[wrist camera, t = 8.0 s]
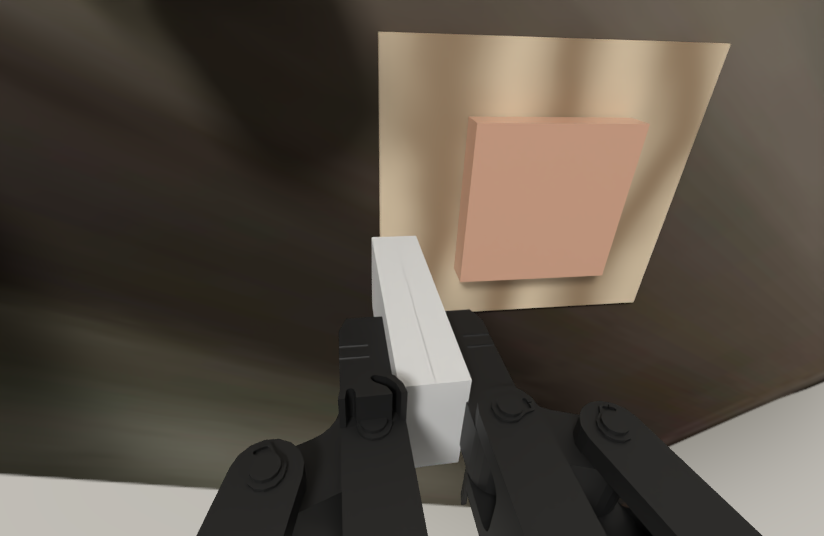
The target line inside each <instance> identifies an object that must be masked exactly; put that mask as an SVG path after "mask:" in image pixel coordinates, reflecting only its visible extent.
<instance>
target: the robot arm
mask: <svg viewBox="0 0 824 536" xmlns="http://www.w3.org/2000/svg"><path fill="white" fill-rule="evenodd" d="M372 306H373V313H374V317H366V318H351V319H346V320H345V322H344V323H343V325H342V327H341V329H340V330H339V360H340V361H339V363H340V393H339V397H338V406H339V414H338V417H337V419H336V421H335V422H334V423H333V424H332V426H331V427H330V428H329V429H328V430H326V431H325V432H324V433H323V434H321V435H319V436H318V437H316V438H314V439H312V440H309V441H307V442H304V443H302V444H300V445H297V446H295V445H294V444H292V443H291V442H288V441H284V440H281V439H272V440H264V441H261V442H259V443H256V444H254V445H251V446H250V447H249V448H247V449H246V450H245V451H243V452H242V453H241V454H240V455H238V457H237V458H236V460H235V461H234V462H233V464H232V465H231V467H230V468H229V470H228V472H227V474H226V476H225V478H224V480H223V482H222V484H221V487H220V489H219V491H218V493H217V495H216V497H215V499H214V501H213V503H212V505H211V507H210V509H209V511H208V513H207V515H206V517H205V519H204V522H203V524H202V526H201V528H200V530H199V532H198V534H197V536H428V534H427V529H426V523H425V518H424V513H423V507H422V502H421V497H420V491H419V486H418V481H417V476H416V470H415V468H417V467H424V466H432V465H440V464H447V463H455V462H458V460H459V454H460V448H461V451H462V455H463V458H464V461H465V465H466V469H465V474H464V480H463V485H462V490H461V505H465V504H466V502H467V497H468V498H469V502H470V505H471V509H472V512H473V516H474V520H475V523H476V527H477V530H478V533H479V536H762V535H761V534H760V533H759V532H758V531H757V530H755V528H754V527H753V526H752V525H750V524H749V523H748V522H747V521H746V520H745V519H744V518H743V517H742V516H741V515H740V514H739V513H738V512H737V511H736V510H735V509H734V508H733V507H731V506H730V505H729V504H728V503H727V502H726V501H725V500H724V499H723V498H722V497H721V496H720V495H719V494H718V493H716V491H714V490H713V489H712V488H711V487H710V486H709V485H708V484H707V483H706V482H705V481H704V480H703V479H702V478H701V477H700V476H699V475H698V474H696V473H695V472H694V471H693V470H692V469H691V468H690V467H689V466H688V465H687V464H686V463H685V462H684V461H683V460H682V459H681V458H679V457H678V456H677V455H676V454H675V453H674V452H673V451H672V450H671V449H670V448H669V447H668V446H667V445H666V444H665V443H664V442H663V441H661V440H660V439H659V438H658V437H657V436H656V435H655V434H654V433H653V432H652V431H651V430H650V429H649V428H648V427H647V426H646V425H644V424H643V423H642V422H641V421H640V420H639V419H638V418H637V417H636V416H634V415H633V414H632V413H630V412H629V411H628V410H626V409H625V408H623V407H620V406H618V405H616V404H613V403H609V402H603V401H597V402H590V403H588V404H587V405H585V406H584V407H583V408H582V410H581V412H580V415H576V414H571V413H565V412H559V411H553V410H549V409H545V408H542V407H540V406H538V405H537V404H536V402H535V401H534V400H533V399H532V397H531V396H529V395H528V394H526V393H525V392H523V391H522V390H520V389H517V388H516V386H515V385H514V383H513V381H512V379H511V377H510V375H509V373H508V371H507V369H506V367H505V365H504V363H503V361H502V359H501V357H500V355H499V353H498V351H497V349H496V347H495V346H494V343H493V341H492V338H491V336H490V335H489V332H488V330H487V328H486V326H485V324H484V322H483V320H482V319H481V318H479V317H478V316H477V315H476V314H475V313H474V312H472V311H471V310H470V309H467V310H452V311H445V310H444V307H443V304H442V302H441V299H440V297H439V294H438V291H437V289H436V286H435V284H434V281H433V278H432V276H431V273H430V271H429V268H428V266H427V263H426V260H425V258H424V255H423V253H422V250H421V247H420V245H419V242H418V240H417V237H416V236H394V237H372Z"/></svg>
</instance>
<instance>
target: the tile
mask: <svg viewBox="0 0 824 536" xmlns="http://www.w3.org/2000/svg"><path fill="white" fill-rule="evenodd" d="M649 126H650V124H649V123H646V122H643V121H640V120H637V119H634V118H619V117H471V116H469V118H468V129H467V139H466V149H465V159H464V170H463V180H462V190H461V200H460V211H459V221H458V231H457V241H456V252H455V262H454V270H455V272H456V274H457V277H458V279H459V281H460V282H475V281H496V280H517V279H538V278H559V277H579V276H600V275H602V274H603V271H604V268H605V265H606V262H607V258H608V255H609V252H610V249H611V246H612V243H613V239H614V236H615V233H616V230H617V227H618V224H619V221H620V217H621V214H622V211H623V208H624V205H625V202H626V198H627V195H628V192H629V189H630V186H631V183H632V179H633V176H634V173H635V170H636V167H637V164H638V161H639V157H640V154H641V151H642V148H643V145H644V142H645V138H646V135H647V132H648V129H649Z"/></svg>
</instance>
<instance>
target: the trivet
mask: <svg viewBox="0 0 824 536" xmlns="http://www.w3.org/2000/svg"><path fill="white" fill-rule="evenodd" d="M730 45H731V44H726V43H699V42H670V41H640V40H610V39H581V38H551V37H522V36H492V35H463V34H433V33H404V32H378V100H379V202H380V237H394V236H416V237H417V240H418V242H419V245H420V247H421V250H422V253H423V255H424V258H425V260H426V263H427V266H428V268H429V271H430V273H431V276H432V278H433V281H434V284H435V286H436V289H437V291H438V294H439V297H440V299H441V302H442V304H443V307H444V310H445V311H452V310H467V309H470V310H471V311H472V312H473V311H490V310H507V309H524V308H542V307H559V306H576V305H593V304H611V303H628V302H634V299H635V296H636V294H637V291H638V288H639V286H640V283H641V280H642V278H643V275H644V273H645V270H646V267H647V265H648V262H649V259H650V257H651V254H652V251H653V249H654V246H655V243H656V241H657V238H658V235H659V233H660V230H661V227H662V225H663V222H664V220H665V217H666V214H667V212H668V209H669V206H670V204H671V201H672V198H673V196H674V193H675V190H676V188H677V185H678V182H679V180H680V177H681V174H682V172H683V169H684V167H685V164H686V161H687V159H688V156H689V153H690V151H691V148H692V145H693V143H694V140H695V137H696V135H697V132H698V129H699V127H700V124H701V121H702V119H703V116H704V114H705V111H706V108H707V106H708V103H709V100H710V98H711V95H712V92H713V90H714V87H715V84H716V82H717V79H718V76H719V74H720V71H721V68H722V66H723V63H724V61H725V58H726V55H727V53H728V50H729V47H730ZM469 116H471V117H619V118H634V119H637V120H640V121H643V122H646V123H649V124H650V126H649V129H648V132H647V135H646V138H645V142H644V145H643V148H642V151H641V154H640V157H639V161H638V164H637V167H636V170H635V173H634V176H633V179H632V183H631V186H630V189H629V192H628V195H627V198H626V202H625V205H624V208H623V211H622V214H621V217H620V221H619V224H618V227H617V230H616V233H615V236H614V239H613V243H612V246H611V249H610V252H609V255H608V258H607V262H606V265H605V268H604V271H603V274H602V275H600V276H579V277H559V278H538V279H517V280H496V281H475V282H460V281H459V279H458V277H457V274H456V272H455V270H454V262H455V252H456V241H457V231H458V221H459V211H460V200H461V190H462V180H463V170H464V159H465V149H466V139H467V129H468V118H469Z"/></svg>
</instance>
